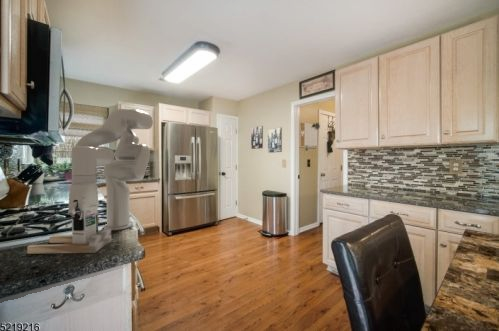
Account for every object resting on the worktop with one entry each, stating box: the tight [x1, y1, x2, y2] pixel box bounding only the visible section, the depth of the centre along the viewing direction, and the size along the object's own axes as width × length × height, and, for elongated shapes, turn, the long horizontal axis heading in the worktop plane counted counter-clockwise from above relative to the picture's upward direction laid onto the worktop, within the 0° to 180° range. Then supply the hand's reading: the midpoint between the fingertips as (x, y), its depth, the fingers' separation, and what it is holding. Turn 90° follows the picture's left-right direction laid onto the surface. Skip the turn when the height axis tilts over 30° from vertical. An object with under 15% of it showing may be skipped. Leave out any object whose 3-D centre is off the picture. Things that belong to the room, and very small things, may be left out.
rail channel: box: [26, 229, 112, 255], centre depth 84 cm, size 11×22×5 cm, turn 95°
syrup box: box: [71, 205, 99, 243], centre depth 84 cm, size 6×6×14 cm
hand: (85, 226), depth 84 cm, fingers closed on syrup box, 6 cm apart
